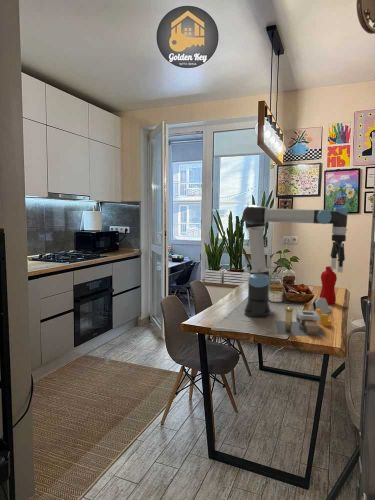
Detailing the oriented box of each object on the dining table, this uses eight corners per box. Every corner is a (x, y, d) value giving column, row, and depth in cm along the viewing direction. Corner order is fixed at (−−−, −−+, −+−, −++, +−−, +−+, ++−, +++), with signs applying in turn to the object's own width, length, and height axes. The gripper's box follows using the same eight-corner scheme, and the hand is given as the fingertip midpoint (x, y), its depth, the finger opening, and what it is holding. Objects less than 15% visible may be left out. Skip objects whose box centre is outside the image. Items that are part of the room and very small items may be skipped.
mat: (278, 334, 168) (278, 334, 168) (274, 321, 190) (274, 320, 190) (326, 338, 164) (326, 337, 164) (316, 324, 187) (316, 323, 187)
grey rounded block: (321, 316, 202) (316, 299, 204) (314, 317, 205) (309, 301, 207) (331, 311, 215) (327, 295, 216) (324, 312, 218) (319, 296, 219)
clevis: (301, 334, 167) (302, 320, 166) (295, 322, 187) (296, 309, 186) (323, 336, 165) (324, 322, 165) (315, 323, 185) (315, 311, 185)
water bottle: (329, 300, 243) (331, 265, 241) (337, 304, 232) (339, 267, 230) (316, 300, 243) (318, 265, 240) (323, 304, 232) (325, 267, 229)
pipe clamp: (330, 327, 182) (331, 315, 182) (322, 327, 182) (323, 315, 182) (322, 320, 194) (323, 309, 194) (314, 320, 194) (315, 309, 194)
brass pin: (284, 332, 170) (285, 308, 169) (283, 330, 173) (284, 306, 172) (292, 333, 169) (293, 309, 168) (291, 330, 173) (292, 307, 172)
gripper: (352, 235, 187) (349, 274, 189) (339, 233, 212) (337, 267, 214) (338, 235, 189) (335, 273, 190) (326, 233, 213) (324, 267, 215)
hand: (336, 270), depth 202 cm, fingers open, 13 cm apart
